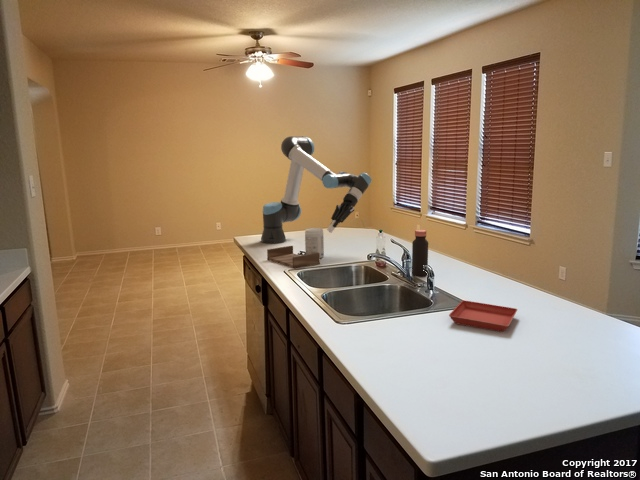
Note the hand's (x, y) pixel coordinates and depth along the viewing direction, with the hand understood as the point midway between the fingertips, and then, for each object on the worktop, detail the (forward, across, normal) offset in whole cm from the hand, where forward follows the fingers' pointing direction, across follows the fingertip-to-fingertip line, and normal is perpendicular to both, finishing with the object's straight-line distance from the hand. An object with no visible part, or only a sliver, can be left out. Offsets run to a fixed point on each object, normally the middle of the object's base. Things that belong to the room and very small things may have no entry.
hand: (329, 231), depth 250 cm
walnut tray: (+26, -1, +8) cm, 28 cm away
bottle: (+7, -59, -11) cm, 60 cm away
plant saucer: (+28, -109, +8) cm, 113 cm away
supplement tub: (+16, 0, -2) cm, 16 cm away
